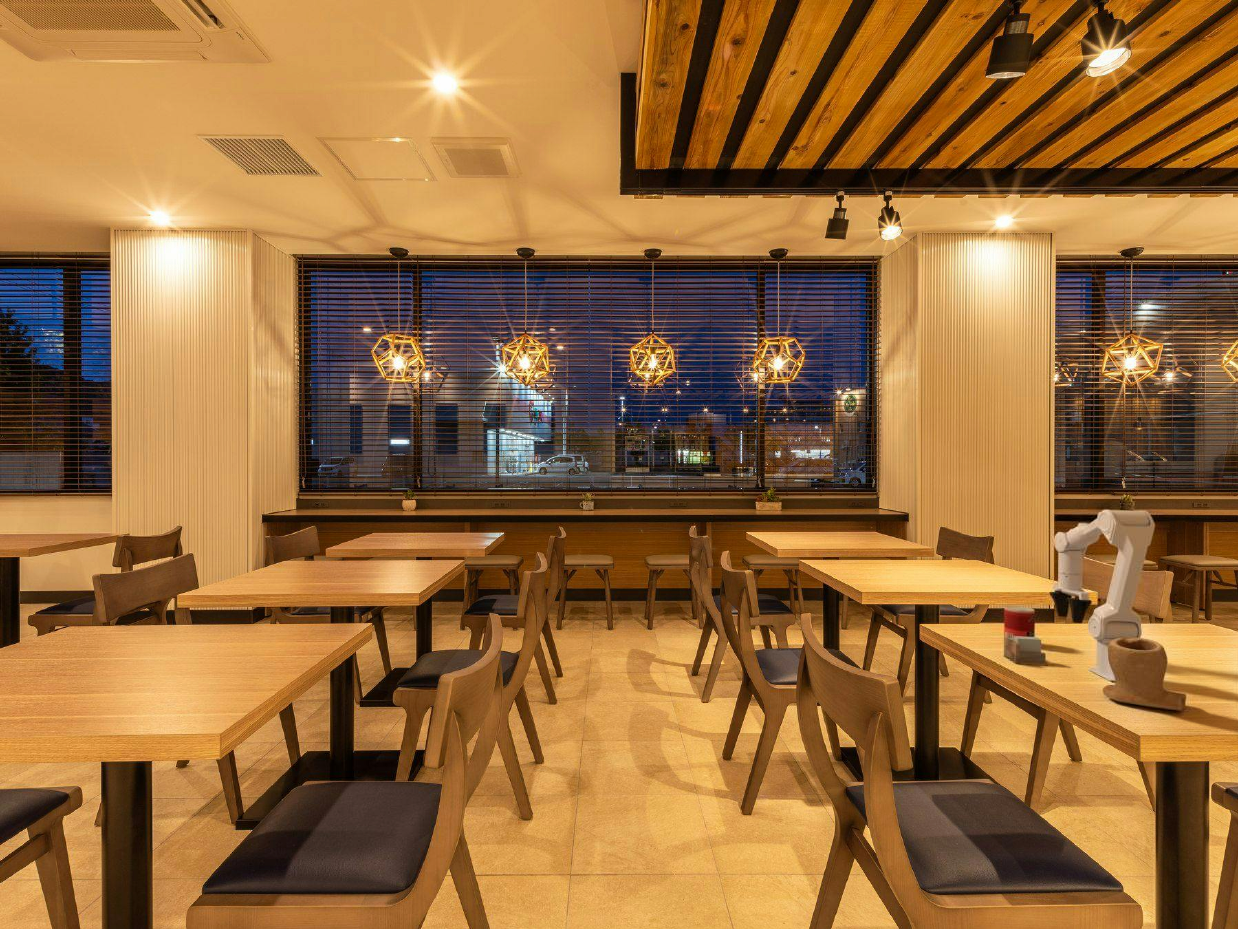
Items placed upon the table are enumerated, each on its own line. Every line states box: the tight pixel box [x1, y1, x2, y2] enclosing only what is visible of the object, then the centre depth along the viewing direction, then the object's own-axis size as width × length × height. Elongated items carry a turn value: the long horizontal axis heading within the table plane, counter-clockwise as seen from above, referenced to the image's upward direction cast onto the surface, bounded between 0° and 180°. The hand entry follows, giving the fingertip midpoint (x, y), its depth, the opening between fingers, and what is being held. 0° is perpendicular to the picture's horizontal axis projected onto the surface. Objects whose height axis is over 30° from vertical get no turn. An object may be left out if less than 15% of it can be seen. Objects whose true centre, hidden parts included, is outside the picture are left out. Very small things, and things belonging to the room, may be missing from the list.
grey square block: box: [1013, 636, 1042, 653], centre depth 172 cm, size 2×6×6 cm, turn 81°
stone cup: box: [1102, 637, 1187, 712], centre depth 140 cm, size 15×12×15 cm
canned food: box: [1003, 605, 1036, 640], centre depth 189 cm, size 8×8×11 cm
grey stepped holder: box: [1003, 636, 1048, 666], centre depth 172 cm, size 7×8×6 cm
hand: (1069, 619), depth 180 cm, fingers open, 7 cm apart
